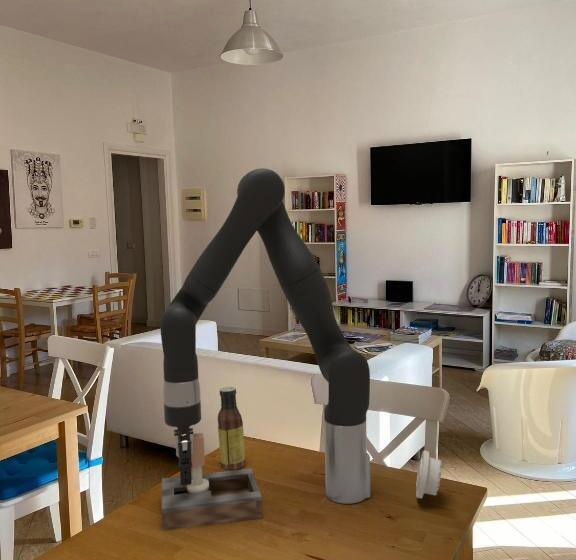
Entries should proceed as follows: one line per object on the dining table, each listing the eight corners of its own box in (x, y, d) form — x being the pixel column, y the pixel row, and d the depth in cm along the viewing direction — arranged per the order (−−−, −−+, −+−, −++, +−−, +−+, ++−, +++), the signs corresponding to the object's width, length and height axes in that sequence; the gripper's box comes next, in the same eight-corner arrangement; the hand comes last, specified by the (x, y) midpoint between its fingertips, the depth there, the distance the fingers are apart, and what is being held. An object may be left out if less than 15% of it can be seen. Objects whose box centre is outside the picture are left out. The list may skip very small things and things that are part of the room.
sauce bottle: (248, 462, 144) (246, 385, 142) (241, 472, 138) (238, 392, 136) (224, 460, 146) (221, 384, 144) (215, 470, 140) (212, 391, 138)
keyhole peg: (208, 482, 123) (206, 431, 122) (209, 492, 118) (207, 438, 117) (186, 485, 122) (184, 433, 121) (187, 494, 117) (185, 441, 116)
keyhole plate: (252, 487, 130) (251, 468, 130) (262, 518, 116) (261, 496, 116) (162, 498, 126) (161, 478, 125) (162, 531, 112) (161, 509, 112)
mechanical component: (414, 484, 129) (422, 443, 128) (434, 488, 128) (442, 447, 127) (414, 505, 120) (422, 461, 118) (435, 510, 119) (444, 465, 117)
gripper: (202, 408, 112) (205, 490, 113) (198, 388, 126) (201, 461, 127) (163, 412, 110) (167, 495, 112) (163, 391, 124) (167, 465, 126)
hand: (185, 477), depth 119 cm, fingers open, 6 cm apart
